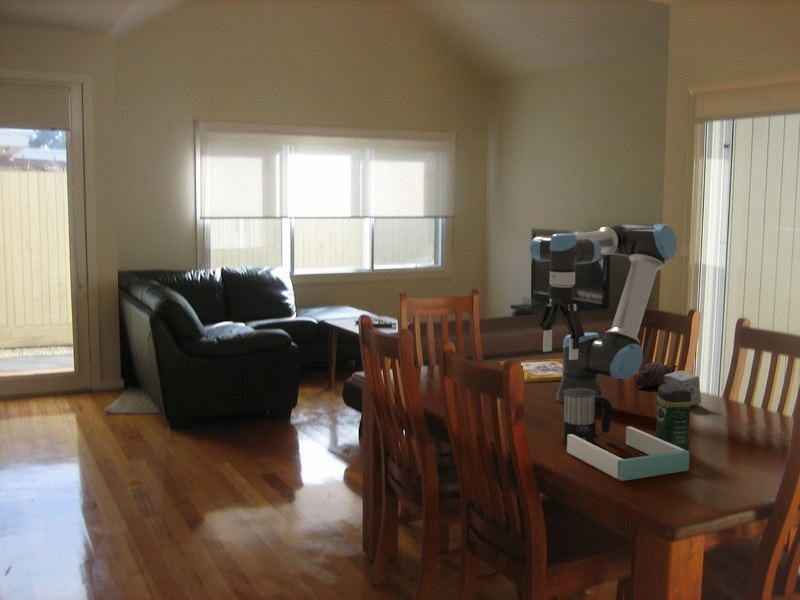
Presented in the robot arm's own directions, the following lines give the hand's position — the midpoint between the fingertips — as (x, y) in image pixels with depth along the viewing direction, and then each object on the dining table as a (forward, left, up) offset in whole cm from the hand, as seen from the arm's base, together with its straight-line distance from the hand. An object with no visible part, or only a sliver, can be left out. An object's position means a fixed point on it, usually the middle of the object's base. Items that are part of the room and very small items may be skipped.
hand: (560, 355), depth 256 cm
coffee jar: (+33, +16, -22) cm, 43 cm away
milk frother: (+13, -1, -22) cm, 26 cm away
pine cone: (-29, +59, -22) cm, 70 cm away
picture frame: (-65, +35, -23) cm, 77 cm away
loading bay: (+35, -1, -22) cm, 41 cm away
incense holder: (-6, +52, -22) cm, 57 cm away
